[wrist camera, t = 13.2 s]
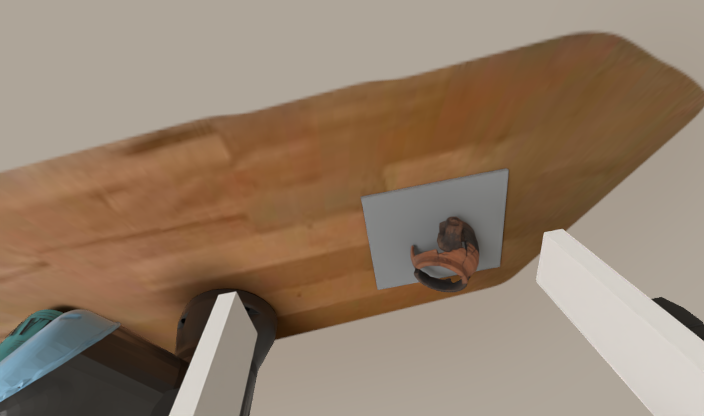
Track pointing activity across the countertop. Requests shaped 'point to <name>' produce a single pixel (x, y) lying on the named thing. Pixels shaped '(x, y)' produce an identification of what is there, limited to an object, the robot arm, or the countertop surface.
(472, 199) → the gray mat
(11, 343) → the beverage bottle
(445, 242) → the broken terracotta jug
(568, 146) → the countertop surface
